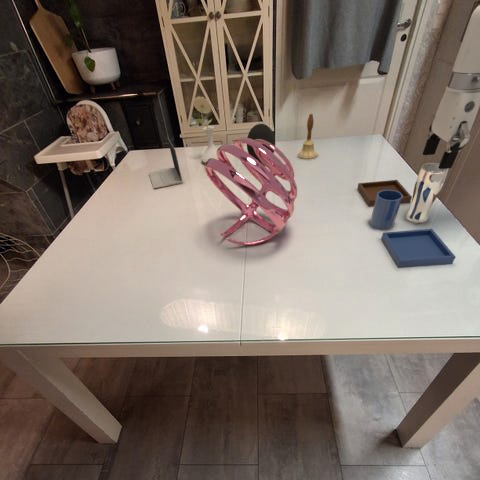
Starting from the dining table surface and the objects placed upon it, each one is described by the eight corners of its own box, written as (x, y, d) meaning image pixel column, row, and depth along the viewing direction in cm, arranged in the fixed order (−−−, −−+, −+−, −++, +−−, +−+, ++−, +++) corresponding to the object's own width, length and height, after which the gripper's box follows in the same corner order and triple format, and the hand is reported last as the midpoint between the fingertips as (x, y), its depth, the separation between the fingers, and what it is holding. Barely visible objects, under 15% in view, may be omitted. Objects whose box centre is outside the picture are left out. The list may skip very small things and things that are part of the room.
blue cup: (389, 217, 94) (397, 188, 88) (396, 228, 90) (406, 199, 83) (367, 218, 95) (374, 190, 88) (373, 230, 90) (381, 201, 83)
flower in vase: (230, 159, 140) (223, 94, 122) (213, 167, 135) (203, 100, 117) (211, 154, 147) (201, 92, 129) (194, 162, 142) (182, 98, 123)
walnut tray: (395, 185, 108) (397, 179, 107) (410, 203, 99) (412, 196, 97) (357, 188, 109) (358, 183, 107) (368, 206, 100) (369, 200, 98)
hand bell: (318, 152, 136) (322, 111, 124) (314, 159, 131) (318, 117, 119) (300, 151, 139) (302, 111, 127) (296, 158, 134) (298, 117, 122)
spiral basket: (194, 208, 68) (271, 105, 64) (169, 193, 90) (225, 117, 87) (269, 274, 84) (334, 195, 81) (233, 248, 107) (282, 185, 103)
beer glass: (403, 222, 91) (420, 171, 80) (404, 211, 96) (421, 161, 85) (428, 225, 89) (450, 173, 78) (428, 213, 93) (449, 163, 82)
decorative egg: (269, 169, 128) (268, 129, 117) (243, 166, 133) (240, 128, 122) (279, 158, 136) (279, 120, 125) (254, 156, 140) (252, 119, 129)
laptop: (149, 174, 136) (139, 143, 127) (175, 168, 138) (168, 137, 129) (154, 189, 124) (143, 156, 115) (183, 183, 126) (175, 149, 117)
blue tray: (429, 235, 86) (432, 228, 84) (452, 263, 77) (455, 256, 75) (381, 238, 87) (382, 232, 85) (398, 267, 77) (400, 260, 76)
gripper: (507, 87, 62) (467, 172, 74) (464, 72, 73) (436, 148, 86) (470, 90, 62) (436, 175, 75) (433, 75, 74) (409, 151, 86)
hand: (436, 161), depth 80 cm, fingers open, 9 cm apart
